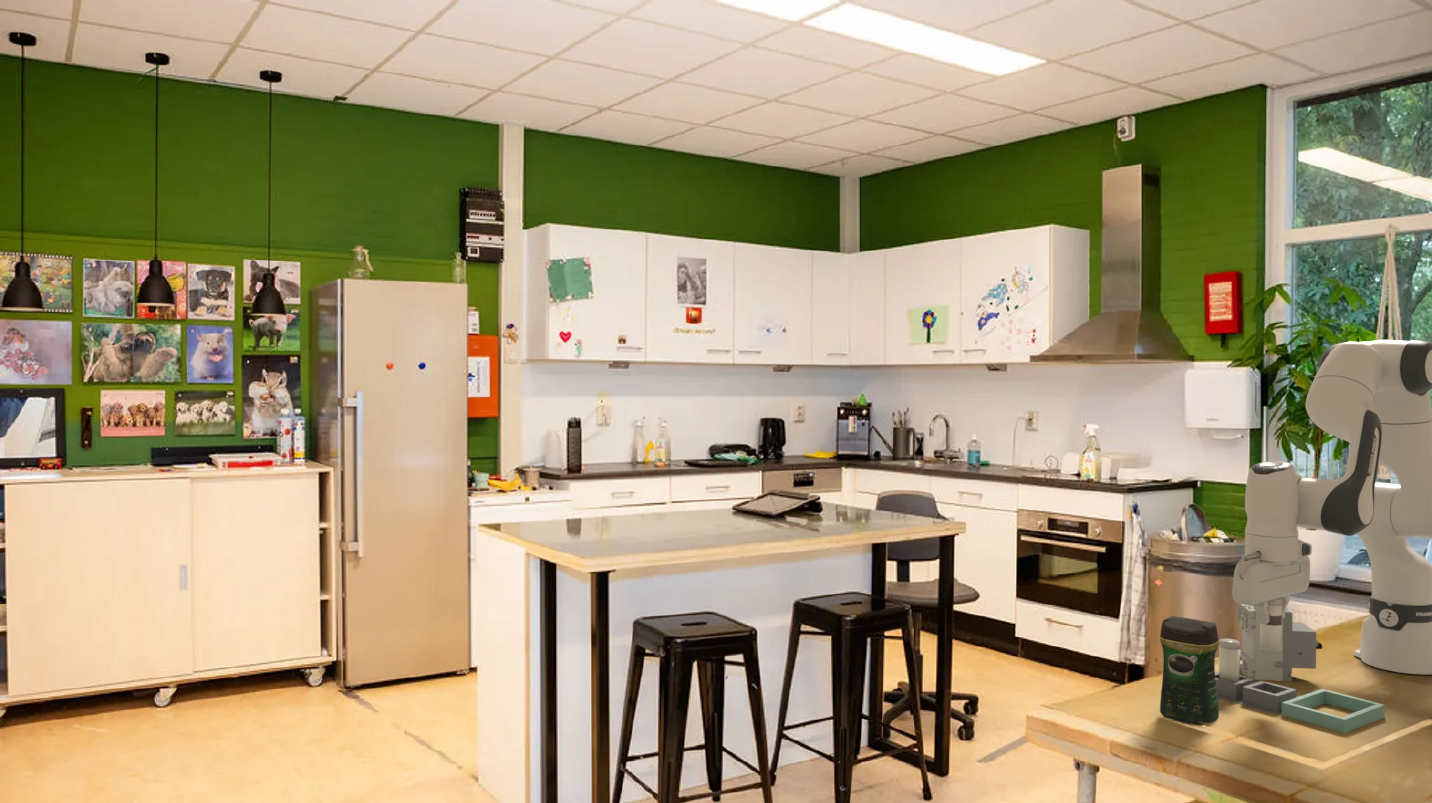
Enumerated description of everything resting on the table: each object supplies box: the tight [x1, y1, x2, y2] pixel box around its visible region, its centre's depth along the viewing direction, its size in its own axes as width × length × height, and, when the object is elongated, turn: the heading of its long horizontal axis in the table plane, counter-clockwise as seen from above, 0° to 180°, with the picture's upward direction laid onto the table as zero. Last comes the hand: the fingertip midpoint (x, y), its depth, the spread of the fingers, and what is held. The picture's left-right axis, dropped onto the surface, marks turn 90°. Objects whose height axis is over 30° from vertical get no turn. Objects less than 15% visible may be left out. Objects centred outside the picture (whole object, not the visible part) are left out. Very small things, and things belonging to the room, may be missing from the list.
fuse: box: [1218, 638, 1241, 683], centre depth 200 cm, size 4×4×10 cm
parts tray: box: [1281, 688, 1386, 734], centre depth 187 cm, size 14×11×3 cm
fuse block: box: [1215, 671, 1298, 715], centre depth 197 cm, size 9×15×4 cm, turn 32°
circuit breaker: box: [1237, 603, 1323, 682], centre depth 211 cm, size 8×14×15 cm, turn 78°
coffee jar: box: [1159, 615, 1220, 726], centre depth 189 cm, size 10×8×19 cm
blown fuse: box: [1260, 598, 1282, 653], centre depth 193 cm, size 4×4×10 cm
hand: (1271, 621), depth 193 cm, fingers closed on blown fuse, 4 cm apart
